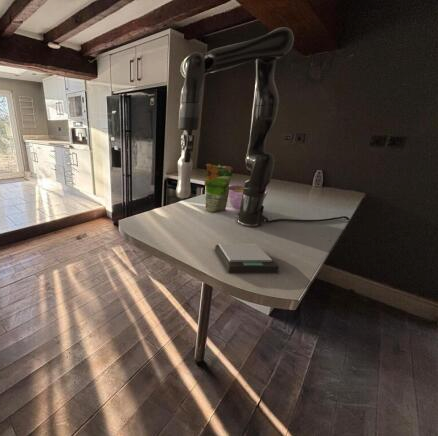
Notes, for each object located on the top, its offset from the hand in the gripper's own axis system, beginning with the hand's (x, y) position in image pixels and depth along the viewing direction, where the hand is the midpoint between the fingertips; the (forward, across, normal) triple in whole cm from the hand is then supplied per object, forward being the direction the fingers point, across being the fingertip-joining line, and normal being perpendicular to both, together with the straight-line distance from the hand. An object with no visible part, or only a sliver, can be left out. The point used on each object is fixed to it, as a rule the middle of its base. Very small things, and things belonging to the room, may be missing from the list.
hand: (185, 161), depth 95 cm
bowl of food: (+30, +23, -39) cm, 54 cm away
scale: (+29, -29, -17) cm, 45 cm away
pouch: (+30, +22, -22) cm, 43 cm away
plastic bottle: (+16, 0, 0) cm, 16 cm away
